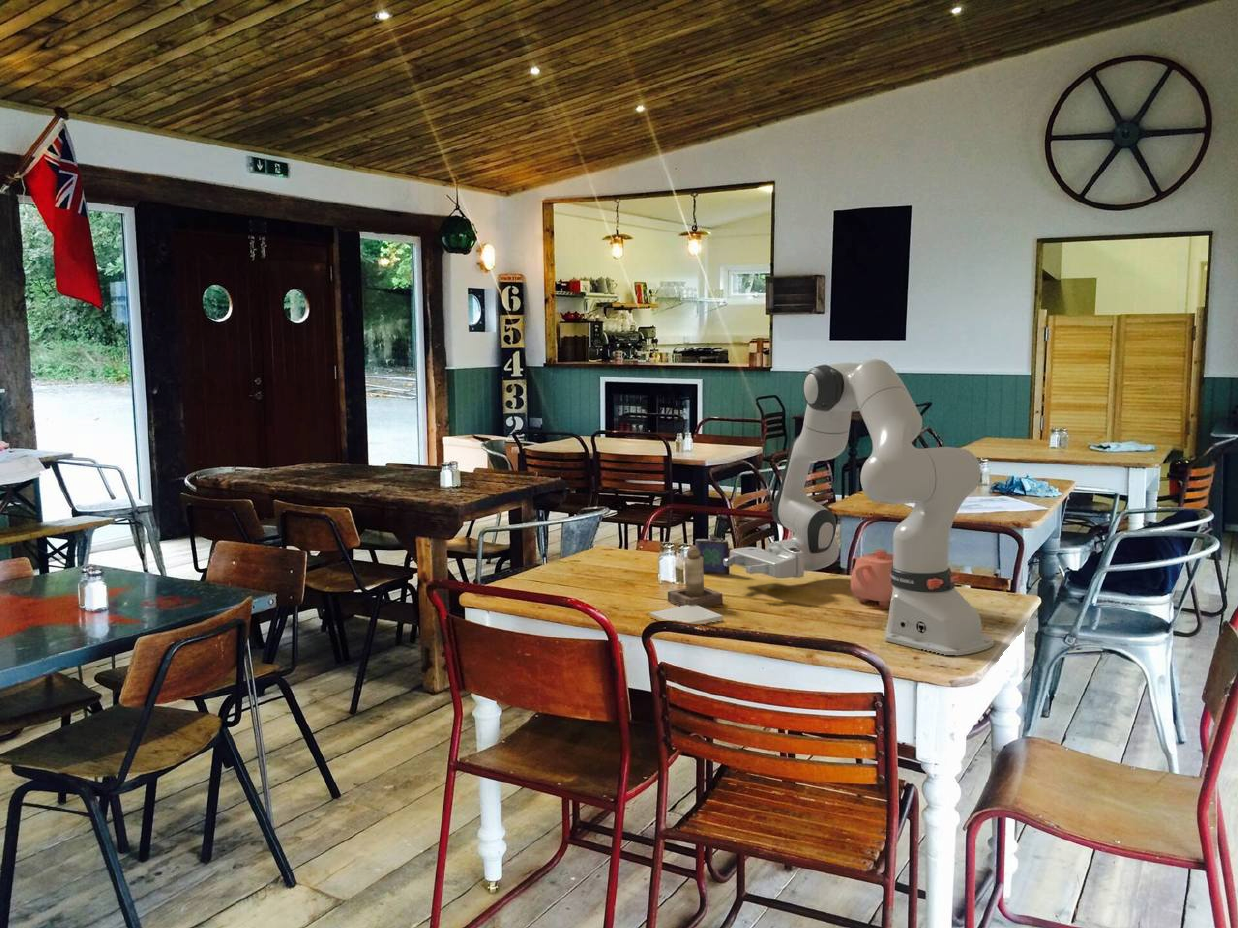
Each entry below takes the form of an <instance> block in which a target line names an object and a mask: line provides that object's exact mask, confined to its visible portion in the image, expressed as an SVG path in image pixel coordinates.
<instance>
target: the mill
mask: <svg viewBox="0 0 1238 928" xmlns="http://www.w3.org/2000/svg"><path fill="white" fill-rule="evenodd" d="M704 575H705V573H704V572H703V557H701V556H700V551H699V549H698V548H696V546H695V547H694V546H692V547H690V548H688V549H687V551H686V556H685V557H684V580H685V582H684V583H685V584H684V585H685V588H684V589H686V596H687V597H690V598H693V597H698V596H703V595H704V587H705V581H704V580H705V578H704Z"/></svg>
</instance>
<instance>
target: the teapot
mask: <svg viewBox="0 0 1238 928" xmlns="http://www.w3.org/2000/svg"><path fill="white" fill-rule="evenodd" d="M892 566H893V553H888V551H887V550H885V549H876V550H875V551H874V552H872V553H869V554H865V555H861V556H859V557H858V558H857V559H856V560H855V563H854V567H853V569H852V574H851V578H850V590H851V592H852V595H853V596H854V597H857V598H858V600H857V602H858V603H859V602H860V603H868V602H869V601H875V602H878V606H879V607H880V608H881V607H882V608H883V607H884V608H886V607H890V601H891V596H892V589H893V585H892V584H891V576H890V573H891V567H892Z"/></svg>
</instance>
